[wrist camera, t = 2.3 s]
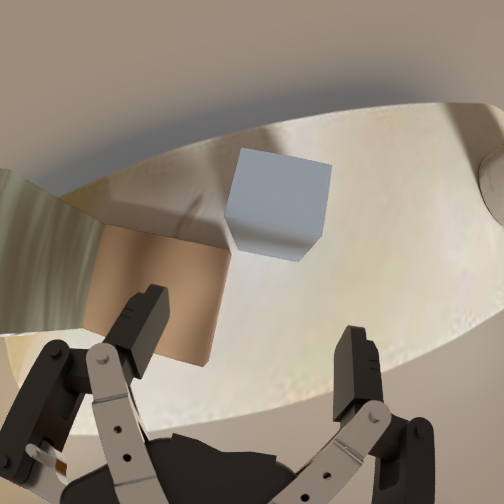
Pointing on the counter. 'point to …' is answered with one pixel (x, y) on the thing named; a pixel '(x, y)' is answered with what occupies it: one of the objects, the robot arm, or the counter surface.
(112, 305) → the bookend
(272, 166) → the grey block
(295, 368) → the counter surface
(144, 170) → the counter surface
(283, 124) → the counter surface
